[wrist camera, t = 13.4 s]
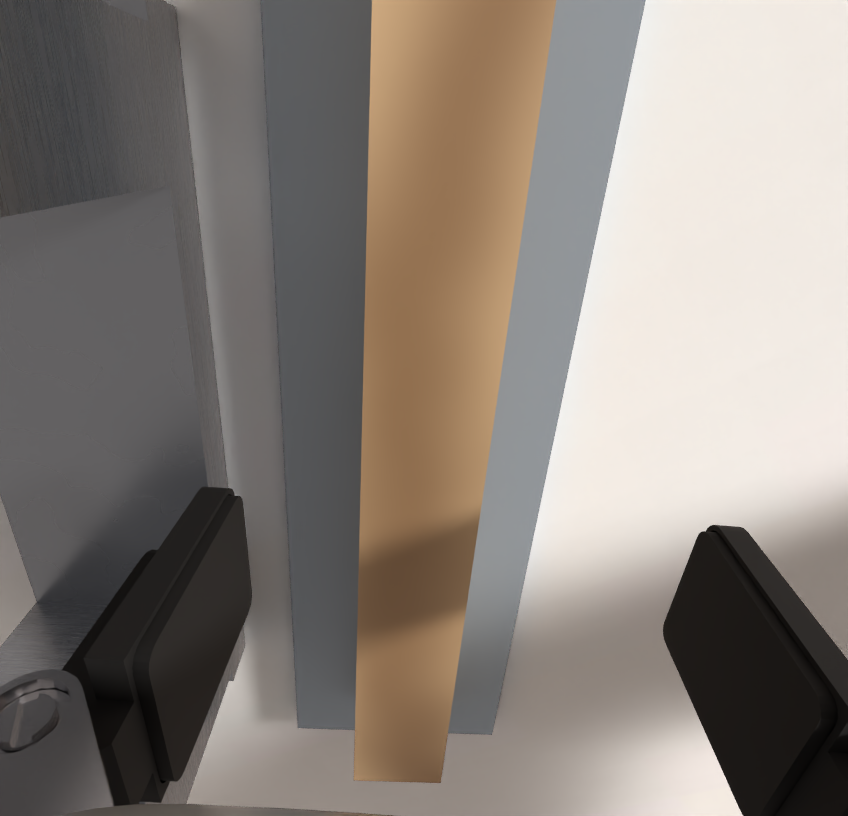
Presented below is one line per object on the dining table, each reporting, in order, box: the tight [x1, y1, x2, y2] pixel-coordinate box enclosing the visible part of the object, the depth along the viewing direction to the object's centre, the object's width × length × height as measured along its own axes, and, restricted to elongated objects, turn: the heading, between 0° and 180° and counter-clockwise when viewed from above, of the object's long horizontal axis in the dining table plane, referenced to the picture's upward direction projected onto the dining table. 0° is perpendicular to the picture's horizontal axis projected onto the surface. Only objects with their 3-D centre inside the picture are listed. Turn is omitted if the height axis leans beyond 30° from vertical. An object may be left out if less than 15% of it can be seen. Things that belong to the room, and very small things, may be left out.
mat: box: [261, 0, 645, 735], centre depth 16 cm, size 8×28×1 cm, turn 176°
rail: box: [354, 0, 556, 783], centre depth 15 cm, size 3×24×3 cm, turn 176°
